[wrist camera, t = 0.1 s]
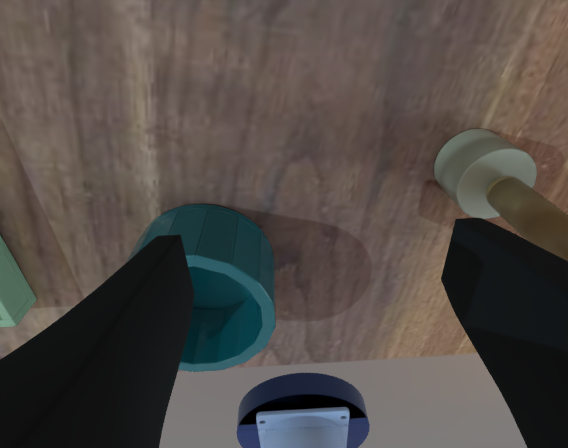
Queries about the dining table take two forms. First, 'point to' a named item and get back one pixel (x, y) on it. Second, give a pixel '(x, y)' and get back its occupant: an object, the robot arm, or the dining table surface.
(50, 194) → the dining table surface
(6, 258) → the tray
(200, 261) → the cup
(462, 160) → the brush
